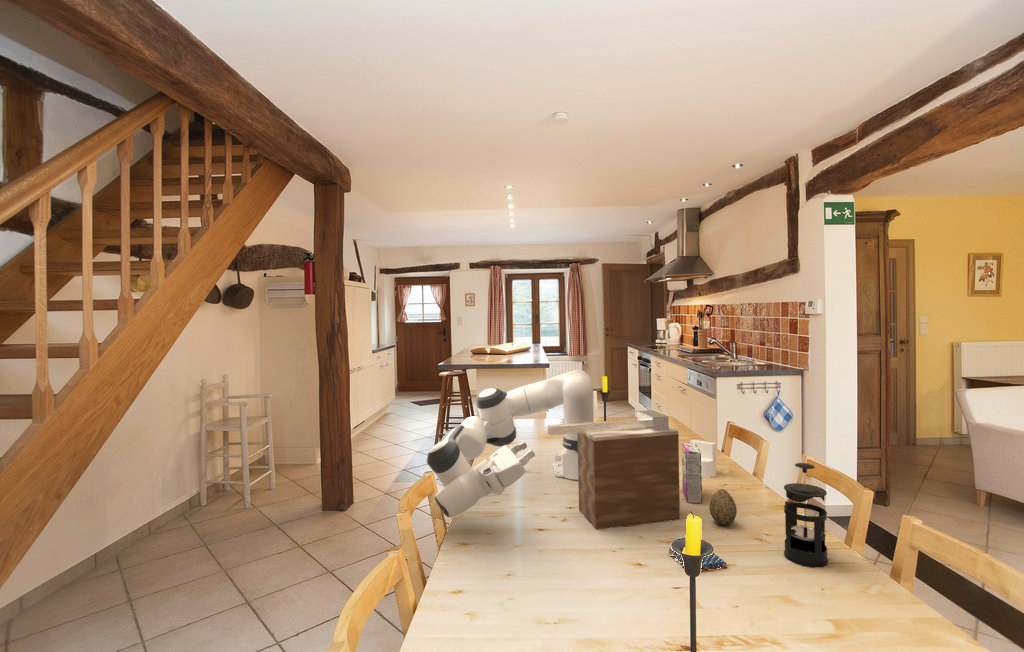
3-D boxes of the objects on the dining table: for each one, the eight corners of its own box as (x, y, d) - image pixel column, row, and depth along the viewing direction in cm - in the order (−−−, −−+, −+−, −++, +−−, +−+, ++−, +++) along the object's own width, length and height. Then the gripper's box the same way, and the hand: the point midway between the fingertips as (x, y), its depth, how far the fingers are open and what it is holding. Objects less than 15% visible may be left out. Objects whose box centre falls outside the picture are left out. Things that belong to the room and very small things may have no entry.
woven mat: (703, 550, 129) (703, 542, 129) (729, 570, 118) (729, 562, 118) (665, 555, 127) (665, 547, 127) (689, 576, 116) (689, 567, 116)
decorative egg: (739, 530, 139) (739, 494, 139) (712, 528, 140) (711, 493, 140) (733, 519, 146) (732, 485, 146) (707, 518, 147) (706, 484, 147)
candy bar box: (681, 491, 170) (680, 442, 170) (697, 491, 169) (696, 443, 169) (686, 503, 159) (685, 451, 159) (702, 504, 158) (701, 452, 158)
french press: (840, 567, 118) (839, 469, 117) (802, 570, 117) (801, 472, 116) (805, 544, 129) (804, 455, 129) (771, 547, 128) (770, 457, 128)
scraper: (544, 430, 150) (544, 417, 150) (652, 422, 158) (652, 410, 158) (554, 438, 141) (553, 424, 141) (668, 429, 148) (668, 416, 148)
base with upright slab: (720, 473, 187) (719, 441, 187) (710, 479, 181) (710, 446, 181) (696, 468, 194) (695, 437, 193) (686, 474, 187) (685, 442, 187)
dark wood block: (579, 510, 155) (577, 426, 155) (656, 502, 161) (655, 421, 160) (595, 529, 142) (593, 437, 141) (679, 519, 147) (678, 430, 146)
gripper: (488, 473, 153) (526, 447, 155) (500, 496, 133) (544, 466, 135) (478, 456, 152) (516, 430, 154) (488, 477, 132) (532, 447, 134)
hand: (529, 447), depth 144 cm, fingers open, 8 cm apart
